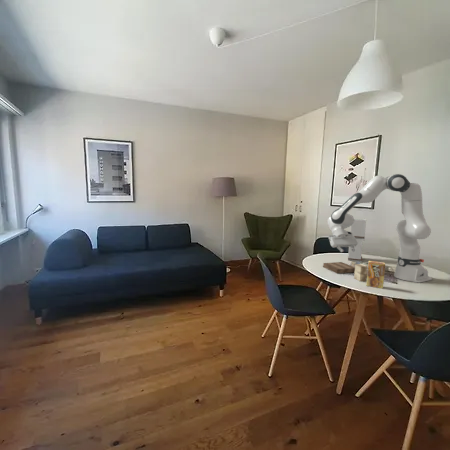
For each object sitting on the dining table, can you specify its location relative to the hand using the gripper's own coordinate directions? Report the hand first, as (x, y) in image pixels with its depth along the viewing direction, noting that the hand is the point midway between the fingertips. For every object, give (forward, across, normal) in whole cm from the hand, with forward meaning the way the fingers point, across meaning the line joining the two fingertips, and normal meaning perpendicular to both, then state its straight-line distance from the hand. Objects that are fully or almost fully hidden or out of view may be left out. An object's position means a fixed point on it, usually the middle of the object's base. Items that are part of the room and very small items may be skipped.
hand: (348, 251), depth 180 cm
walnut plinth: (+5, +1, +18) cm, 18 cm away
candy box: (+29, 0, -6) cm, 30 cm away
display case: (-10, +33, +33) cm, 47 cm away
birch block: (+20, 0, +2) cm, 21 cm away
